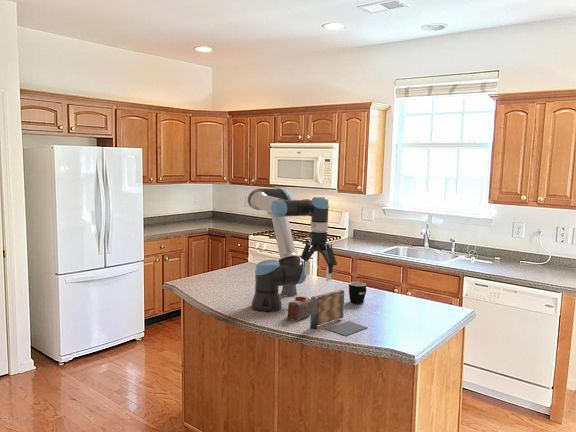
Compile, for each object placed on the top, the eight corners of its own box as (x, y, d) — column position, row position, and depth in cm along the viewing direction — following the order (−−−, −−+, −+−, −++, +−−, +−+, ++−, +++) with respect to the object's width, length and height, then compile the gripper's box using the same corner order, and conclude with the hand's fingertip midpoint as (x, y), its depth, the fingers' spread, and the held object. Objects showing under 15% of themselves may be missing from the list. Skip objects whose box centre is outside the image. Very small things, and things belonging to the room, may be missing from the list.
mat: (326, 329, 205) (326, 328, 205) (348, 321, 215) (348, 320, 215) (345, 336, 197) (345, 335, 197) (367, 328, 208) (367, 327, 207)
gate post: (308, 328, 206) (309, 297, 204) (313, 326, 208) (314, 296, 206) (313, 329, 203) (314, 298, 202) (318, 328, 206) (319, 297, 204)
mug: (358, 306, 240) (359, 287, 239) (344, 302, 246) (345, 283, 245) (372, 302, 248) (373, 283, 247) (358, 298, 255) (359, 280, 254)
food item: (299, 311, 229) (300, 292, 228) (314, 314, 225) (314, 294, 224) (285, 319, 217) (286, 298, 216) (300, 322, 213) (301, 301, 212)
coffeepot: (281, 297, 253) (282, 264, 251) (275, 292, 261) (275, 261, 259) (307, 295, 259) (308, 263, 257) (300, 290, 267) (300, 259, 265)
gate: (318, 325, 206) (319, 297, 205) (315, 324, 208) (316, 295, 206) (343, 317, 218) (344, 290, 217) (339, 316, 220) (340, 289, 218)
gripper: (294, 228, 217) (292, 273, 219) (334, 235, 200) (333, 284, 202) (305, 227, 222) (303, 271, 225) (345, 233, 205) (343, 281, 207)
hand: (317, 277), depth 213 cm, fingers open, 12 cm apart
